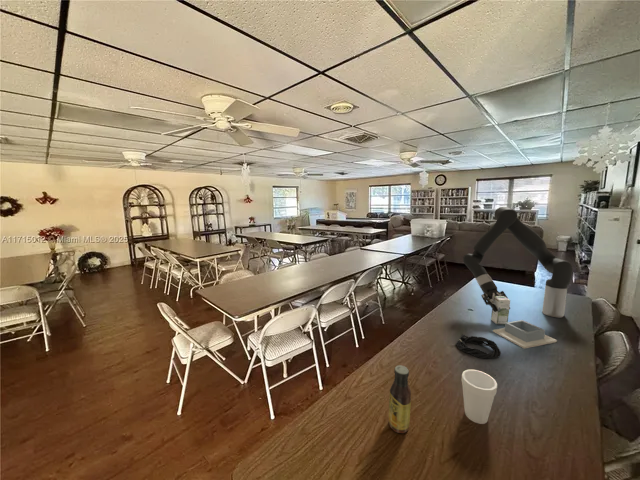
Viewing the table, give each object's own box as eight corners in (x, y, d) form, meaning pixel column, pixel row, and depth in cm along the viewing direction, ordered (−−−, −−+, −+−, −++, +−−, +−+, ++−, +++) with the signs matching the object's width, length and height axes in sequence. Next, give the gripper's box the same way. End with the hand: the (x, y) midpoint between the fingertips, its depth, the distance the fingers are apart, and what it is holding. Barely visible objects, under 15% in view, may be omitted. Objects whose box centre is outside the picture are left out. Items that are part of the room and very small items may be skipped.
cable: (504, 352, 116) (505, 343, 115) (494, 366, 107) (495, 356, 106) (463, 337, 128) (464, 329, 128) (451, 348, 120) (452, 340, 119)
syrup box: (501, 320, 145) (503, 295, 143) (508, 325, 139) (510, 299, 137) (490, 319, 146) (493, 295, 143) (496, 324, 140) (499, 299, 138)
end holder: (523, 326, 138) (524, 316, 137) (556, 342, 122) (558, 331, 122) (493, 331, 133) (493, 321, 132) (524, 348, 118) (525, 337, 117)
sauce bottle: (385, 418, 82) (386, 362, 79) (404, 416, 83) (406, 360, 80) (392, 436, 76) (394, 376, 73) (413, 434, 76) (415, 374, 73)
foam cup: (480, 432, 77) (483, 394, 74) (453, 409, 85) (455, 374, 83) (500, 421, 80) (504, 384, 78) (472, 400, 89) (475, 366, 87)
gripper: (480, 281, 145) (497, 309, 135) (500, 279, 148) (518, 306, 139) (472, 287, 151) (487, 314, 141) (491, 285, 154) (508, 311, 145)
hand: (502, 310), depth 140 cm, fingers open, 8 cm apart
